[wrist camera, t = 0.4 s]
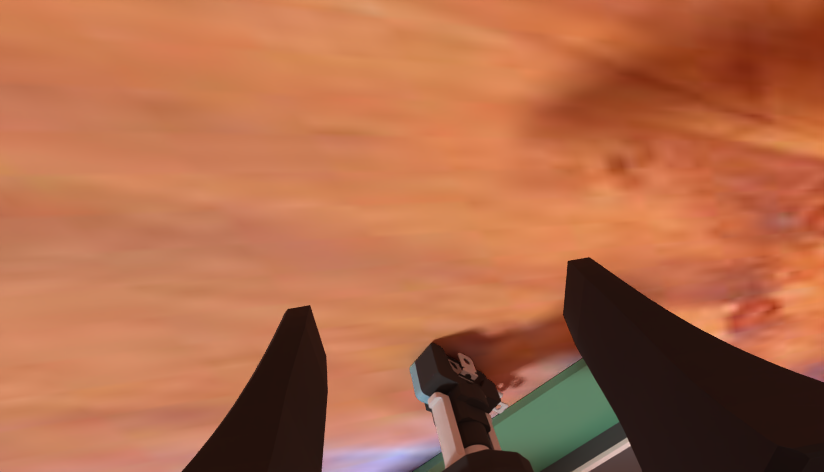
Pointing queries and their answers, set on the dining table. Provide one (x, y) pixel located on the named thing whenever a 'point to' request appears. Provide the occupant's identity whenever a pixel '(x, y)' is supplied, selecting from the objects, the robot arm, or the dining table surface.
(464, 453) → the push button
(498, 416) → the circuit board
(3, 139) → the dining table surface
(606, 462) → the pad
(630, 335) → the robot arm
